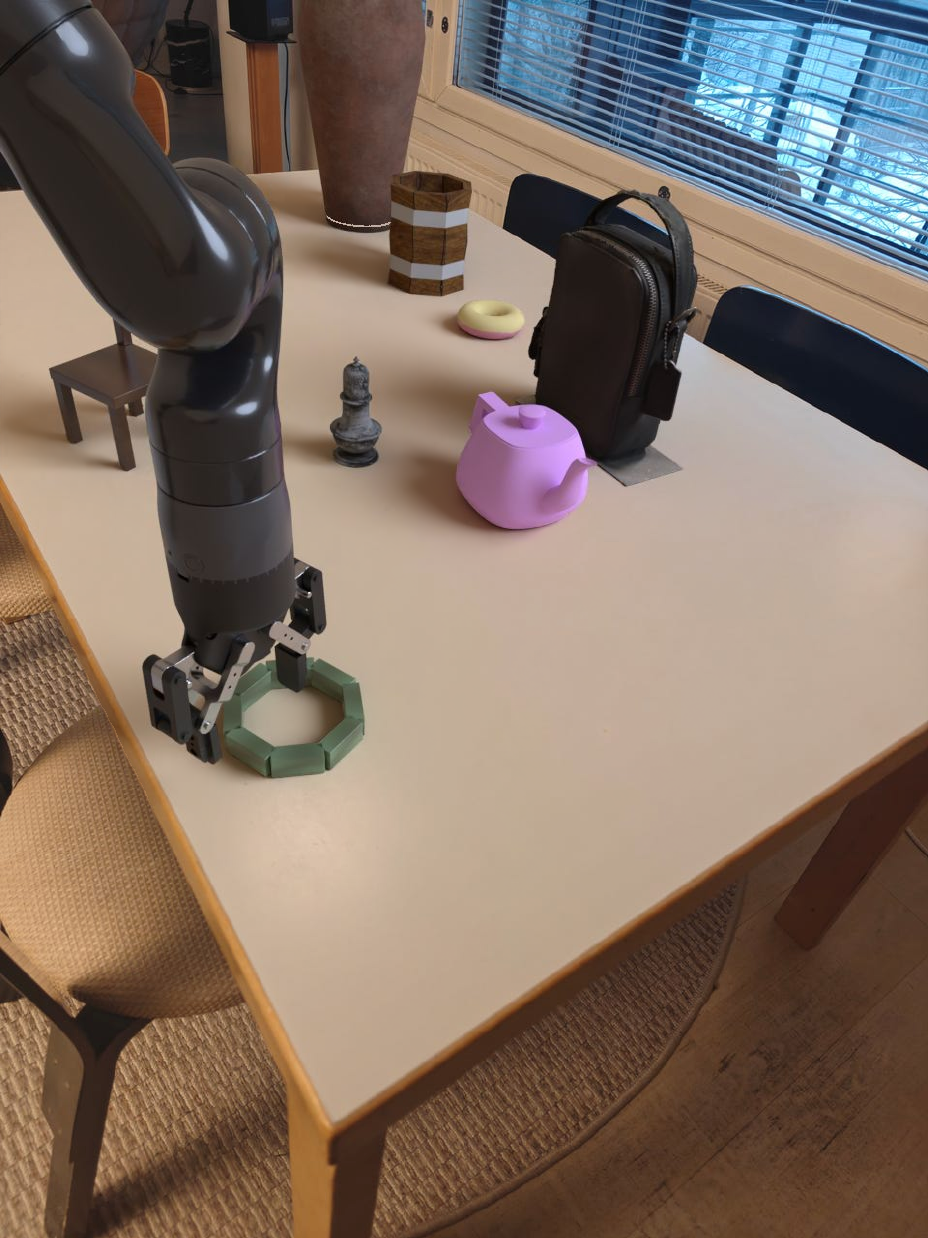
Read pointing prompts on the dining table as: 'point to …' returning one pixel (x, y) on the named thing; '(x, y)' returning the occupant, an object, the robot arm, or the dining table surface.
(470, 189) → the wooden barrel
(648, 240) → the shoulder bag
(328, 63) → the vase
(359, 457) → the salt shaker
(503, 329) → the donut
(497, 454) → the teapot
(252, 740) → the ring
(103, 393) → the chair
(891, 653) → the dining table surface
